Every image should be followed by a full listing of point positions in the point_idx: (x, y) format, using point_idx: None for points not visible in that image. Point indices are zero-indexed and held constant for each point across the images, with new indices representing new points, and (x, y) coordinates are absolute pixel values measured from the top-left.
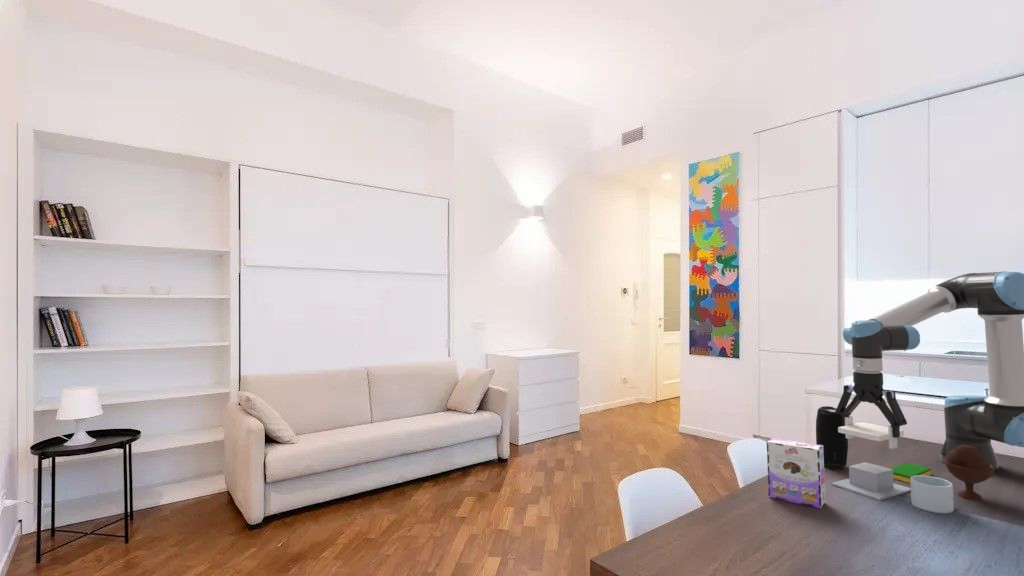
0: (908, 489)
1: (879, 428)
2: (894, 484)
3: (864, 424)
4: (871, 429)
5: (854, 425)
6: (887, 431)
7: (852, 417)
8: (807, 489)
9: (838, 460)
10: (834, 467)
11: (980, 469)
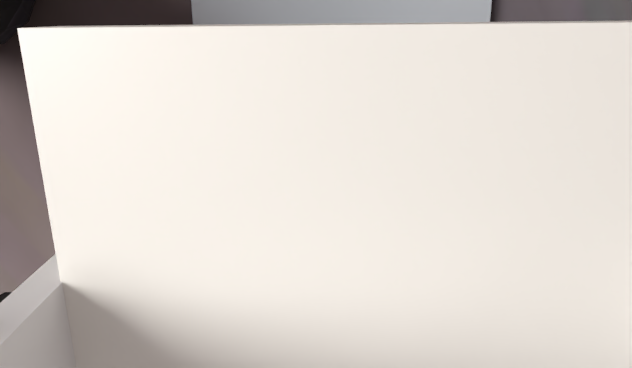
0: (487, 21)
1: (438, 219)
2: (396, 4)
3: (159, 167)
4: (400, 356)
5: (133, 338)
6: (596, 289)
7: (2, 354)
8: None
9: (3, 12)
10: (15, 28)
11: None
